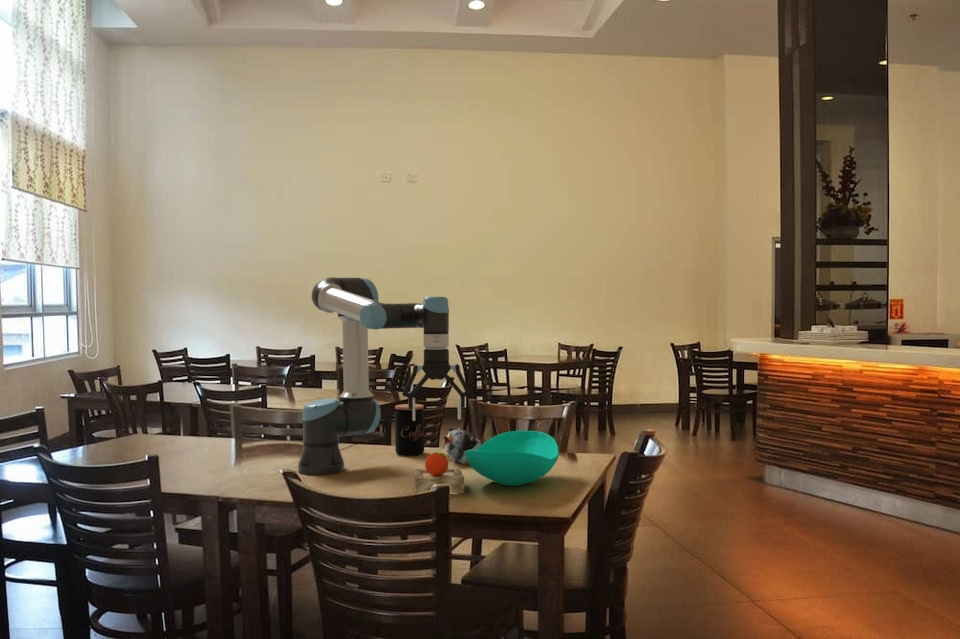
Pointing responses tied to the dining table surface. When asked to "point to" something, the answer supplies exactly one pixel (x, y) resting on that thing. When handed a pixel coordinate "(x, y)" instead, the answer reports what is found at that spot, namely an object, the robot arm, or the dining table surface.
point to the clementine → (436, 464)
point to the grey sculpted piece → (460, 444)
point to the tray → (439, 480)
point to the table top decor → (515, 457)
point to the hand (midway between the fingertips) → (436, 419)
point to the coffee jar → (409, 430)
